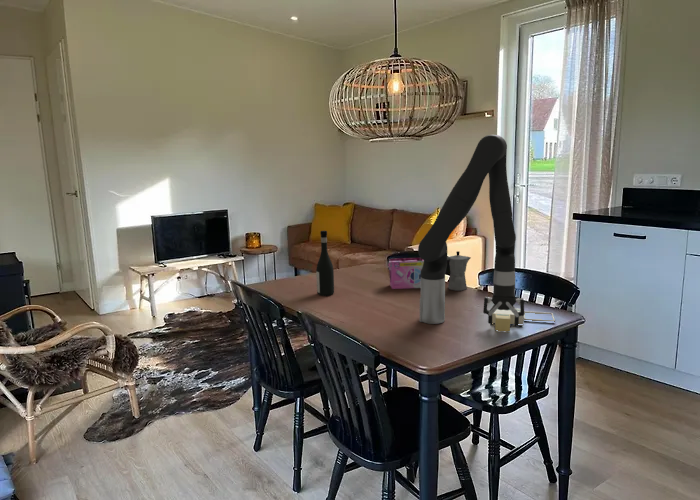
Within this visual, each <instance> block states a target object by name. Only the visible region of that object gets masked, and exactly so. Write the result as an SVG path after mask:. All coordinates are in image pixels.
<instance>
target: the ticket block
mask: <svg viewBox="0 0 700 500" xmlns="http://www.w3.org/2000/svg"><path fill="white" fill-rule="evenodd" d="M515 309H516V310H517V311H518V312H520V308H515ZM496 313H497V314H510V324H514V319H515V315H514V313H513V312H512V311H511V310H510V309H509V310H499V309H497V310H496V311H495V312H494V313H493V314H492V323H495V322H496ZM519 324H523V325H524V316H519ZM494 325H495V324H492V325H491V326H494Z"/></svg>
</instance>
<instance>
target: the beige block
mask: <svg viewBox="0 0 700 500" xmlns="http://www.w3.org/2000/svg"><path fill="white" fill-rule="evenodd" d="M494 329H495V330H498V331H510V332H511V327H510V314H497V313H496V322H495V327H494ZM495 330H494V331H495Z"/></svg>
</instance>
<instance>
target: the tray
mask: <svg viewBox="0 0 700 500" xmlns="http://www.w3.org/2000/svg"><path fill="white" fill-rule="evenodd" d="M525 313H535V314H551V315H552V318H553V320H542V319H526V318H525ZM524 320H532V321H554V322H555V323H556V319H555V317H554V313H553V312H544V311H531V310H529V311H527V310H524ZM524 320H523V321H524Z"/></svg>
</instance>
